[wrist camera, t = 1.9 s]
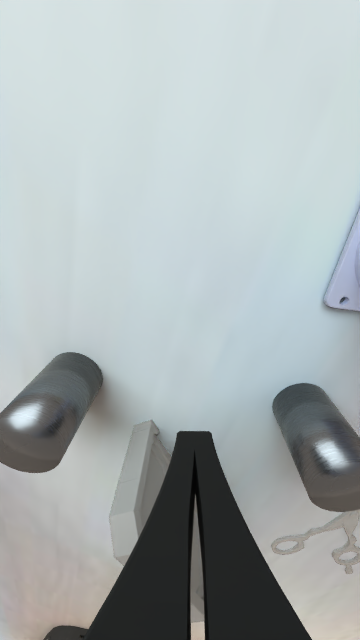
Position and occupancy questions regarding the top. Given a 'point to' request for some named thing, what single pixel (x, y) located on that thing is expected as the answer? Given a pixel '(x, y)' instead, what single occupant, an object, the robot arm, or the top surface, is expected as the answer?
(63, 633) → the media streaming box
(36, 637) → the top surface
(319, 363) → the top surface
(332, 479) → the post
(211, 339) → the top surface
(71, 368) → the post
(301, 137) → the top surface
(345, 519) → the scissors
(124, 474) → the light switch
